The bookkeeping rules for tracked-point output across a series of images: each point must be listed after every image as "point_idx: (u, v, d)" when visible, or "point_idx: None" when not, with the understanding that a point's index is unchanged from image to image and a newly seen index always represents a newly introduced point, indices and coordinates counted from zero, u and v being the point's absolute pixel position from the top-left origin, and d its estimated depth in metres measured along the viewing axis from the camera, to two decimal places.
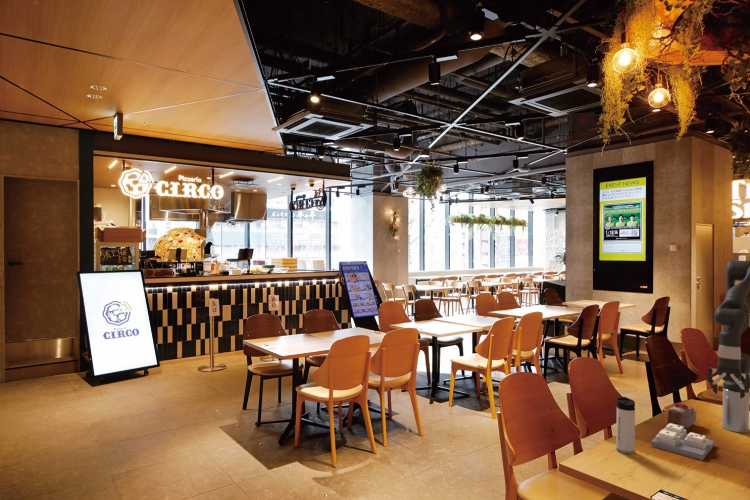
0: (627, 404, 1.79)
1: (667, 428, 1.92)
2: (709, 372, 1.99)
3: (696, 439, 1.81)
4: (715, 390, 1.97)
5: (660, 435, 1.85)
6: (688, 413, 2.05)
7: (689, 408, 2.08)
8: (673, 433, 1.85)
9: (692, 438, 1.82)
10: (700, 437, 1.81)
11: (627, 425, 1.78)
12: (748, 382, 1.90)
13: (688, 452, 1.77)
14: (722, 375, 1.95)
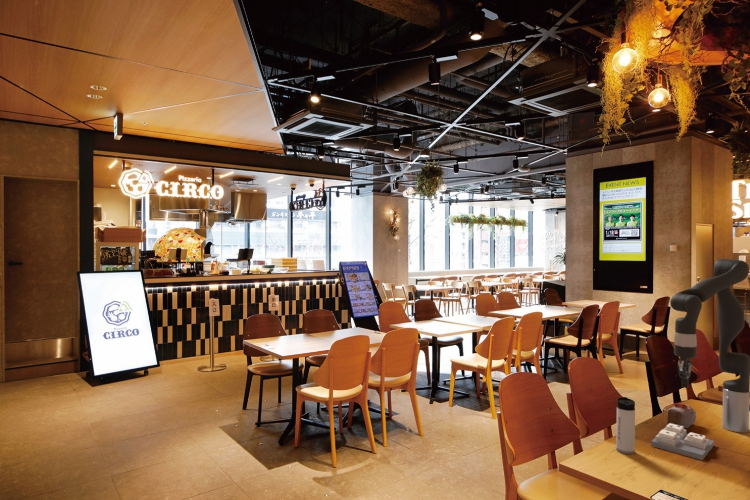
0: (627, 404, 1.79)
1: (667, 428, 1.92)
2: (685, 371, 1.83)
3: (696, 439, 1.81)
4: (687, 384, 1.87)
5: (660, 435, 1.85)
6: (688, 413, 2.05)
7: (688, 408, 2.08)
8: (673, 433, 1.85)
9: (692, 438, 1.82)
10: (700, 437, 1.81)
11: (627, 425, 1.78)
12: None
13: (688, 452, 1.77)
14: (689, 366, 1.85)
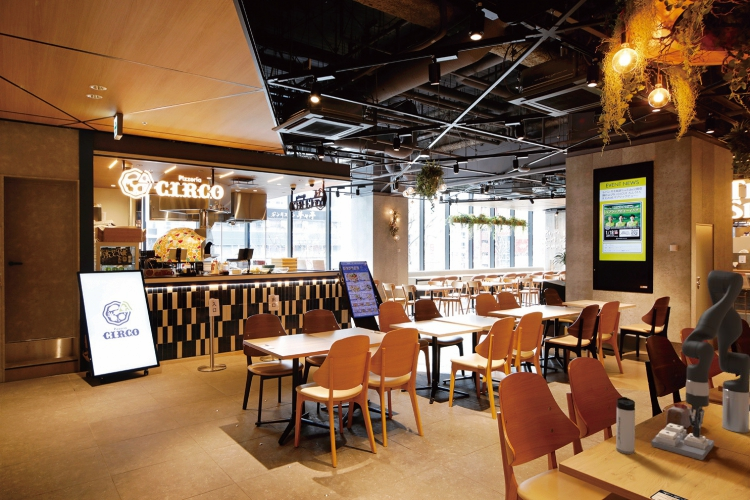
0: (627, 404, 1.79)
1: (667, 428, 1.92)
2: (697, 420, 1.78)
3: (696, 440, 1.81)
4: (699, 433, 1.82)
5: (660, 435, 1.85)
6: (687, 413, 2.05)
7: (688, 408, 2.08)
8: (673, 433, 1.85)
9: (692, 439, 1.82)
10: (700, 438, 1.81)
11: (627, 425, 1.78)
12: None
13: (688, 452, 1.77)
14: (701, 415, 1.80)
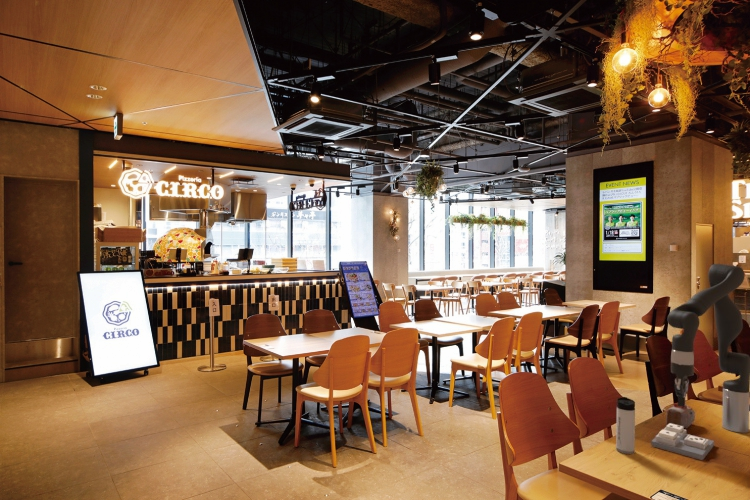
0: (627, 404, 1.79)
1: (667, 428, 1.92)
2: (682, 389, 1.79)
3: None
4: (684, 403, 1.82)
5: (660, 435, 1.85)
6: (687, 413, 2.05)
7: (688, 408, 2.08)
8: (673, 433, 1.85)
9: None
10: (700, 440, 1.81)
11: (627, 425, 1.78)
12: None
13: (688, 452, 1.77)
14: (686, 384, 1.81)
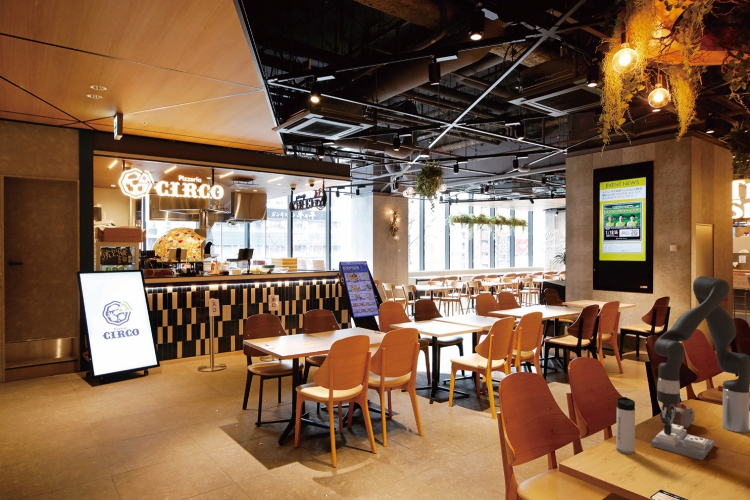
0: (627, 404, 1.79)
1: None
2: (667, 418, 1.81)
3: None
4: (670, 431, 1.84)
5: (660, 436, 1.85)
6: (687, 413, 2.05)
7: (687, 408, 2.08)
8: (673, 434, 1.85)
9: None
10: (700, 440, 1.81)
11: (627, 425, 1.78)
12: (674, 415, 1.87)
13: (688, 452, 1.77)
14: (672, 412, 1.83)
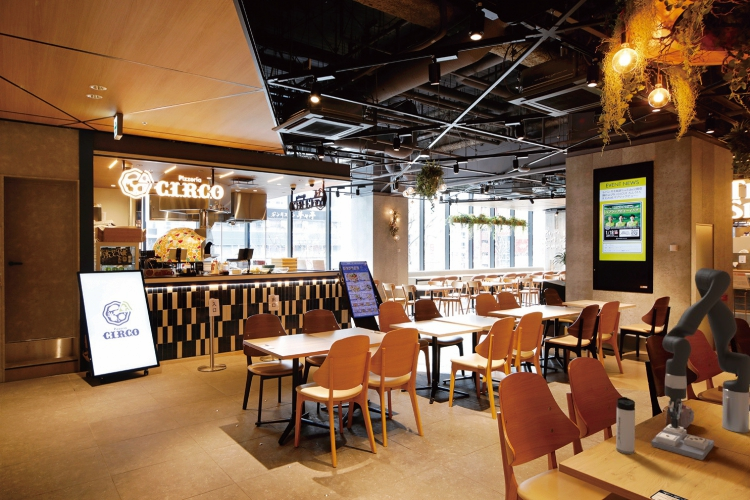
0: (627, 404, 1.79)
1: (667, 429, 1.92)
2: (675, 412, 1.88)
3: None
4: (677, 424, 1.91)
5: None
6: (686, 413, 2.05)
7: (687, 408, 2.08)
8: (673, 436, 1.85)
9: None
10: (700, 440, 1.81)
11: (627, 425, 1.78)
12: None
13: (688, 452, 1.77)
14: (679, 407, 1.90)
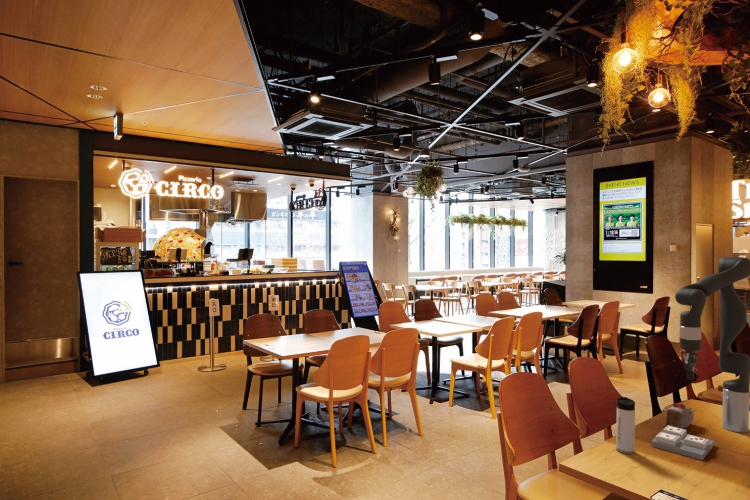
0: (627, 404, 1.79)
1: None
2: (690, 363, 1.88)
3: None
4: (692, 376, 1.92)
5: None
6: (686, 413, 2.05)
7: (687, 408, 2.08)
8: (673, 436, 1.85)
9: None
10: (700, 440, 1.81)
11: (627, 425, 1.78)
12: (696, 362, 1.94)
13: (688, 452, 1.77)
14: (694, 358, 1.90)
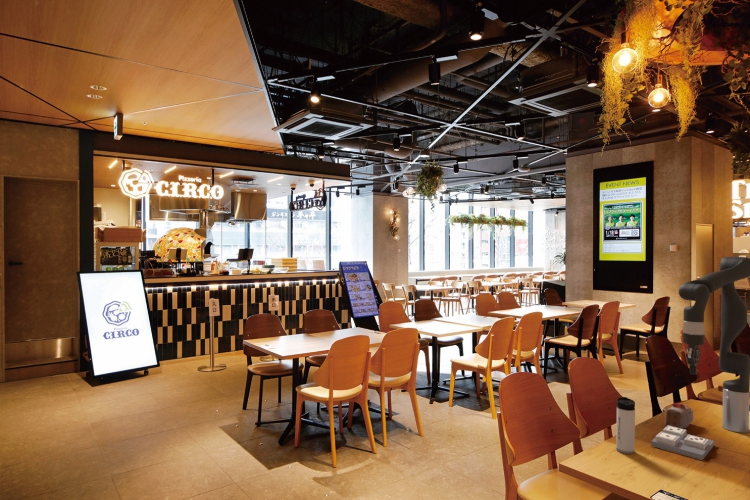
0: (627, 404, 1.79)
1: None
2: (693, 358, 1.88)
3: None
4: (695, 371, 1.91)
5: None
6: (686, 413, 2.05)
7: (686, 408, 2.08)
8: (673, 436, 1.85)
9: None
10: (700, 440, 1.81)
11: (627, 425, 1.78)
12: (698, 357, 1.94)
13: (688, 452, 1.77)
14: (697, 353, 1.90)
